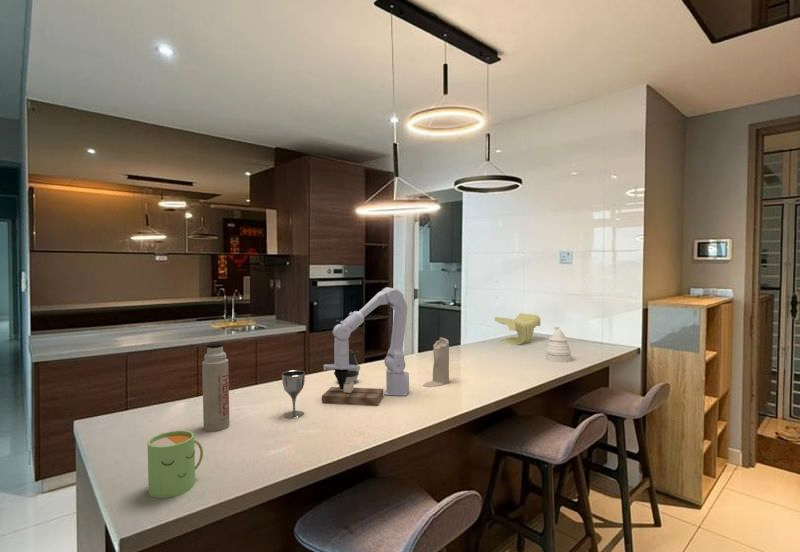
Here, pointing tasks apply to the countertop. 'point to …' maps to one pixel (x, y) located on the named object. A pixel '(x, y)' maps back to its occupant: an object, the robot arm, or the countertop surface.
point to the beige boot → (440, 363)
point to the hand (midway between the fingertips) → (342, 388)
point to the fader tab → (348, 387)
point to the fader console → (353, 396)
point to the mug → (172, 463)
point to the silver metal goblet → (293, 389)
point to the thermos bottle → (215, 388)
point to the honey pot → (558, 348)
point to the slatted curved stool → (521, 327)
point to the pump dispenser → (352, 360)
